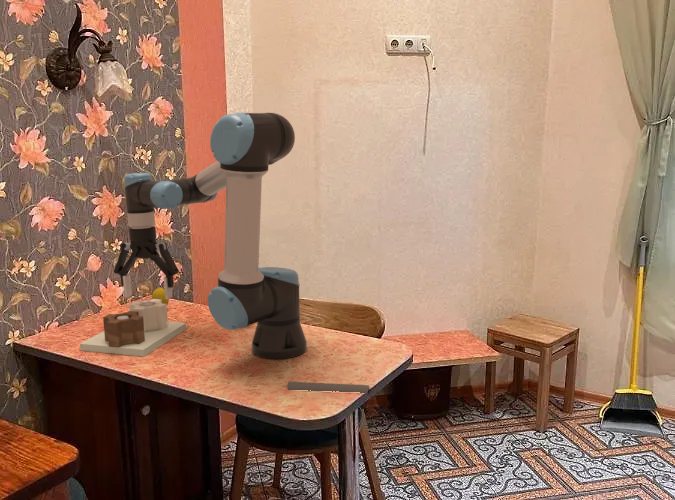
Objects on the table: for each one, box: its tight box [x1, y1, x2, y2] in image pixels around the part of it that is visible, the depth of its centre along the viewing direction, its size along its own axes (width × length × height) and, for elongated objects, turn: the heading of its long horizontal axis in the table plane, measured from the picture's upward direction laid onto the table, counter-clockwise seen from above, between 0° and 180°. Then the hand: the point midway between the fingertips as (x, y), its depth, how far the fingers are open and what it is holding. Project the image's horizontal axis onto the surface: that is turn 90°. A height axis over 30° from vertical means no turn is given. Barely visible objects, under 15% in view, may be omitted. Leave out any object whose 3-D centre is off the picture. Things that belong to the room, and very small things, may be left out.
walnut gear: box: [102, 310, 145, 348], centre depth 186 cm, size 11×11×7 cm
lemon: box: [151, 286, 170, 306], centre depth 222 cm, size 6×6×8 cm
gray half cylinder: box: [286, 381, 370, 395], centre depth 158 cm, size 4×20×2 cm, turn 82°
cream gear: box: [128, 298, 168, 332], centre depth 198 cm, size 11×11×7 cm
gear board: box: [79, 303, 187, 358], centre depth 193 cm, size 20×24×9 cm
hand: (148, 297), depth 197 cm, fingers open, 13 cm apart
